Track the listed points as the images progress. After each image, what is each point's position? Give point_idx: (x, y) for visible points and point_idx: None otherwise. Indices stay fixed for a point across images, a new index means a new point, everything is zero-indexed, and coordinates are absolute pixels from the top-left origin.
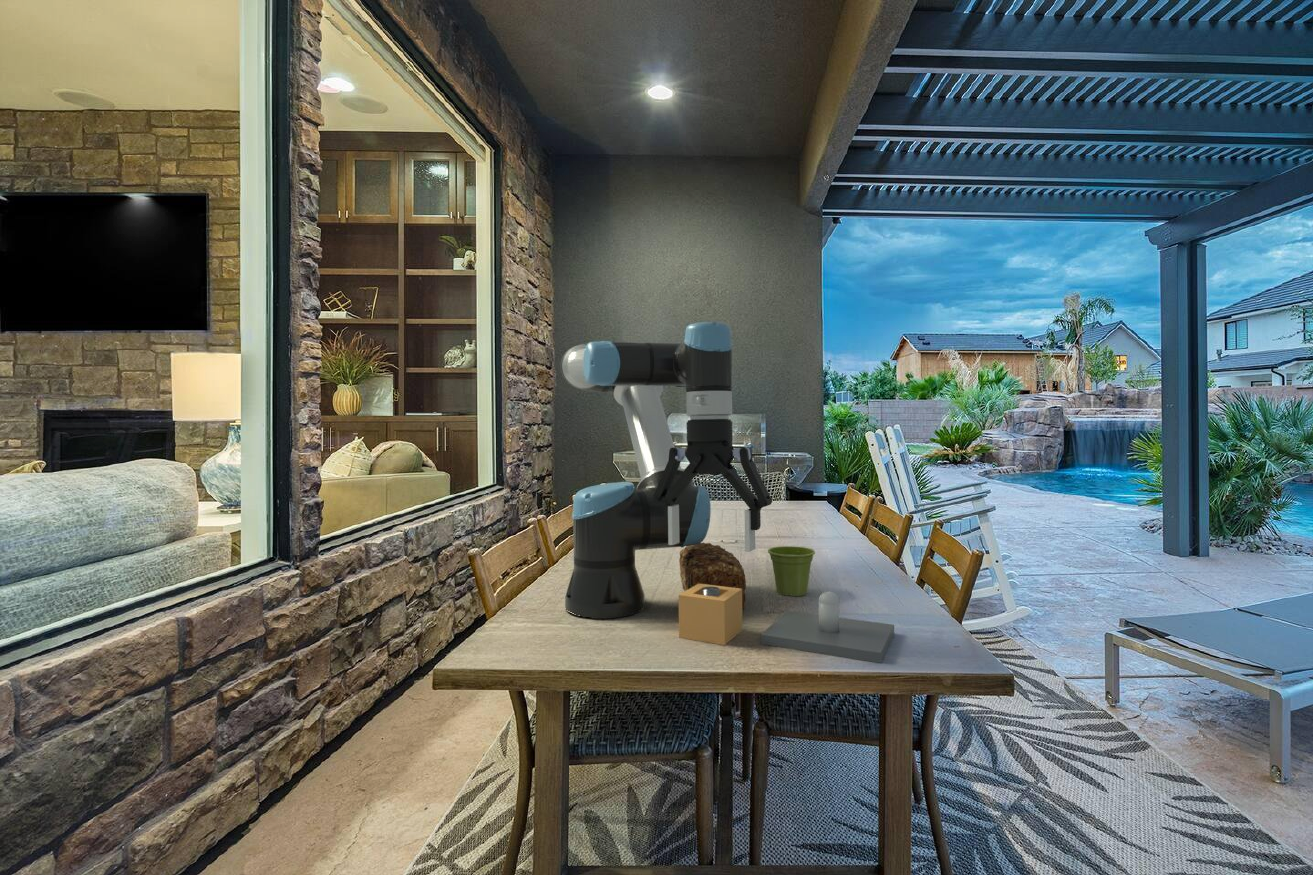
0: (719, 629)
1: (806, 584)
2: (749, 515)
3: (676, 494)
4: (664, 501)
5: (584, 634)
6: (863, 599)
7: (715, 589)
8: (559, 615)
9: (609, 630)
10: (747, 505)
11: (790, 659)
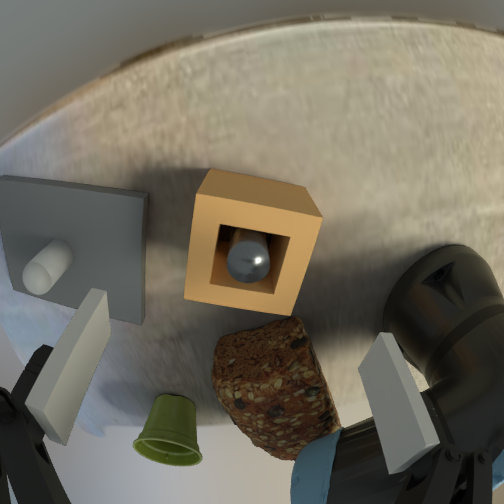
0: (217, 176)
1: (151, 409)
2: (35, 388)
3: (418, 499)
4: (456, 455)
5: (457, 174)
6: (90, 387)
7: (235, 261)
8: (490, 250)
9: (426, 199)
10: (25, 428)
11: (93, 139)
